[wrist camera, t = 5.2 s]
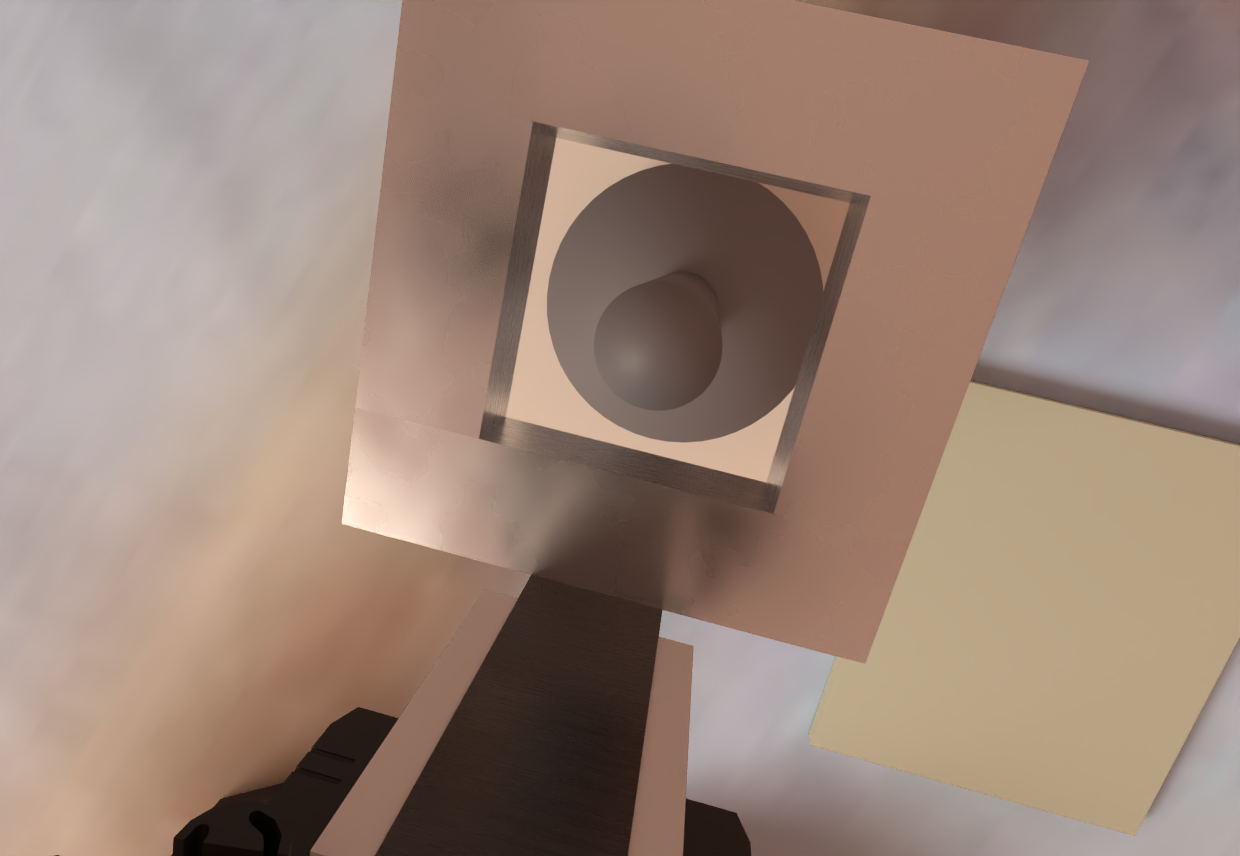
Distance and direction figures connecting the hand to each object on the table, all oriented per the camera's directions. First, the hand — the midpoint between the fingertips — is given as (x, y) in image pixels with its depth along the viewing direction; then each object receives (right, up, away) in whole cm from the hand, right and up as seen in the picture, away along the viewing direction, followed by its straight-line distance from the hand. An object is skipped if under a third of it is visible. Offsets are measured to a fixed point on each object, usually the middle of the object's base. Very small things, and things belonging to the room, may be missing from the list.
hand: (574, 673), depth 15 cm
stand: (+4, +10, +13) cm, 17 cm away
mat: (+18, -2, +14) cm, 23 cm away
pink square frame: (+2, +6, +1) cm, 7 cm away
